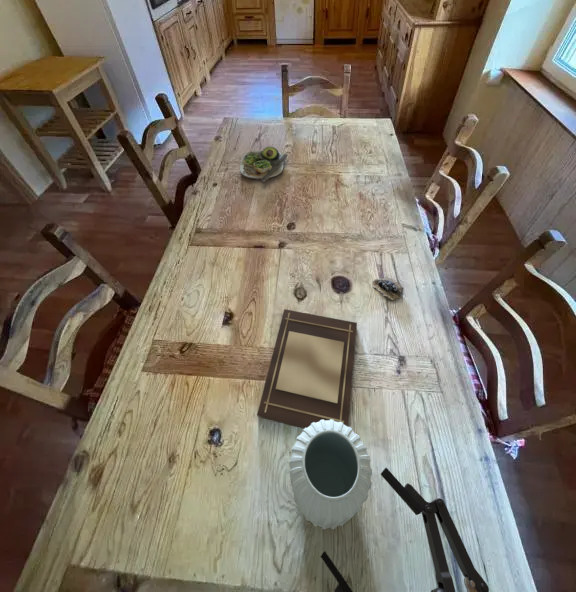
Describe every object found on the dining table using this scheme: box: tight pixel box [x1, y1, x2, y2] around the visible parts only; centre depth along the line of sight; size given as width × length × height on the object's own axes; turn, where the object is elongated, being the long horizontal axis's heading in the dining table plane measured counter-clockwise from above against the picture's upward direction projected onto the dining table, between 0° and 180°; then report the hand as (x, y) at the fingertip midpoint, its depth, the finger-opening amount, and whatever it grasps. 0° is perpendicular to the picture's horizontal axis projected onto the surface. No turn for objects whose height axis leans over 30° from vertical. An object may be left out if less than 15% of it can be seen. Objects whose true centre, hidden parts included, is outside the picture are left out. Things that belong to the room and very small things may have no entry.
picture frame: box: [256, 308, 358, 430], centre depth 76 cm, size 24×18×2 cm
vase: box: [289, 419, 373, 530], centre depth 54 cm, size 12×12×22 cm
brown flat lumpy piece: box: [372, 277, 405, 301], centre depth 89 cm, size 7×8×2 cm
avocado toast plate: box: [239, 146, 288, 183], centre depth 128 cm, size 19×18×5 cm
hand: (354, 509), depth 50 cm, fingers open, 13 cm apart
